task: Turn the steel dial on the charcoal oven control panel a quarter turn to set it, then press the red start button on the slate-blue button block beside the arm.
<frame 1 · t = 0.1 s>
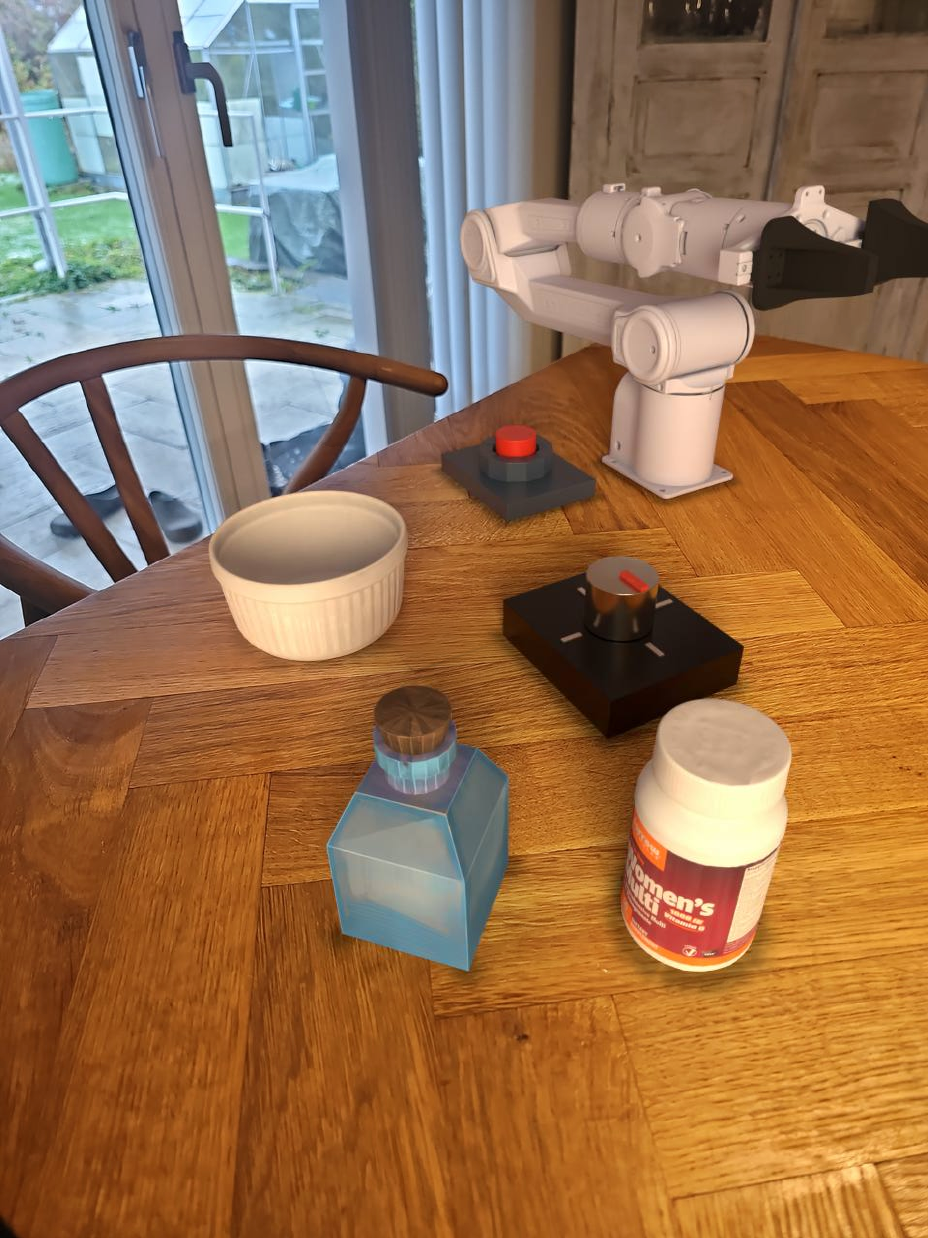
hand: (916, 265, 51), 22 cm above the table, tool horizontal, fingers open, 7 cm apart
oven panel: (614, 658, 56), on the table
dial: (620, 596, 53), point 5 cm above the table, hinge at 0.0°
pill bottle: (685, 919, 40), on the table
start button: (515, 441, 75), point 4 cm above the table, slide at 0.1 cm
ramekin: (321, 619, 61), on the table
button block: (515, 483, 77), on the table
perfume bottle: (428, 900, 41), on the table
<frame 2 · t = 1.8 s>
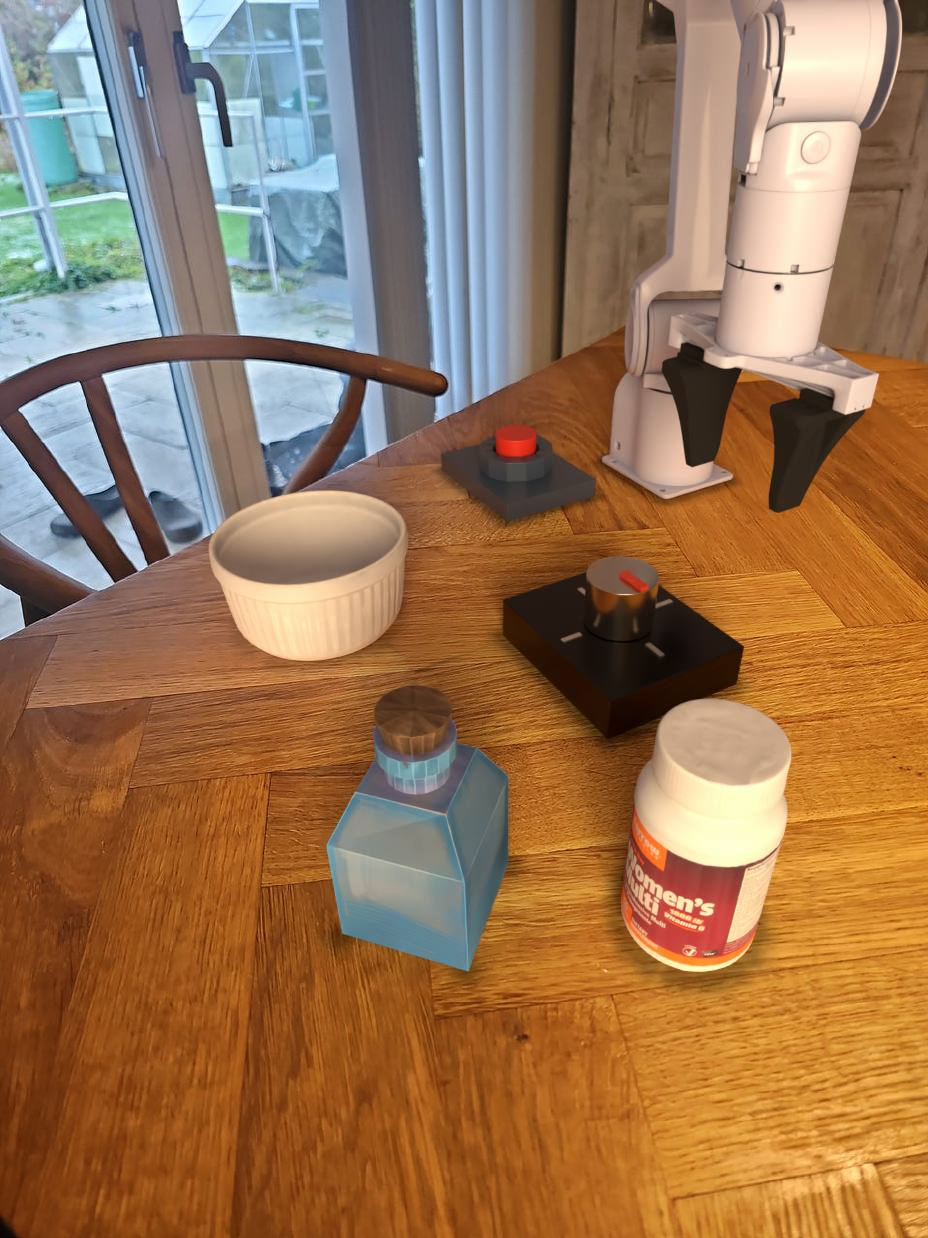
hand: (740, 483, 55), 9 cm above the table, tool pointing down, fingers open, 7 cm apart
nothing on the table moved.
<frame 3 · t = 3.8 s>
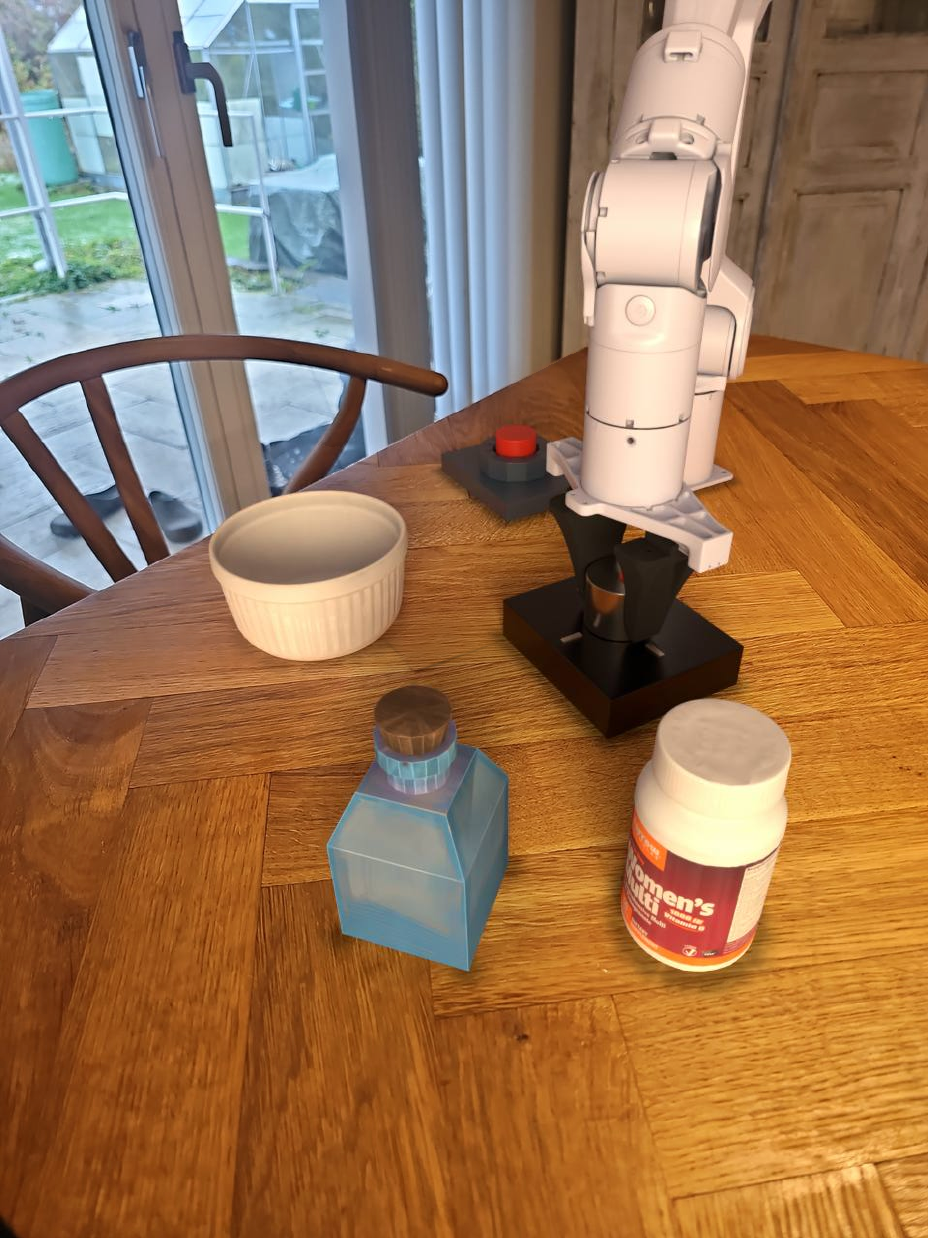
hand: (618, 614, 54), 4 cm above the table, tool pointing down, fingers closed on dial, 4 cm apart
dial: (620, 596, 53), point 5 cm above the table, hinge at -0.2°, touching gripper
everything else where it was.
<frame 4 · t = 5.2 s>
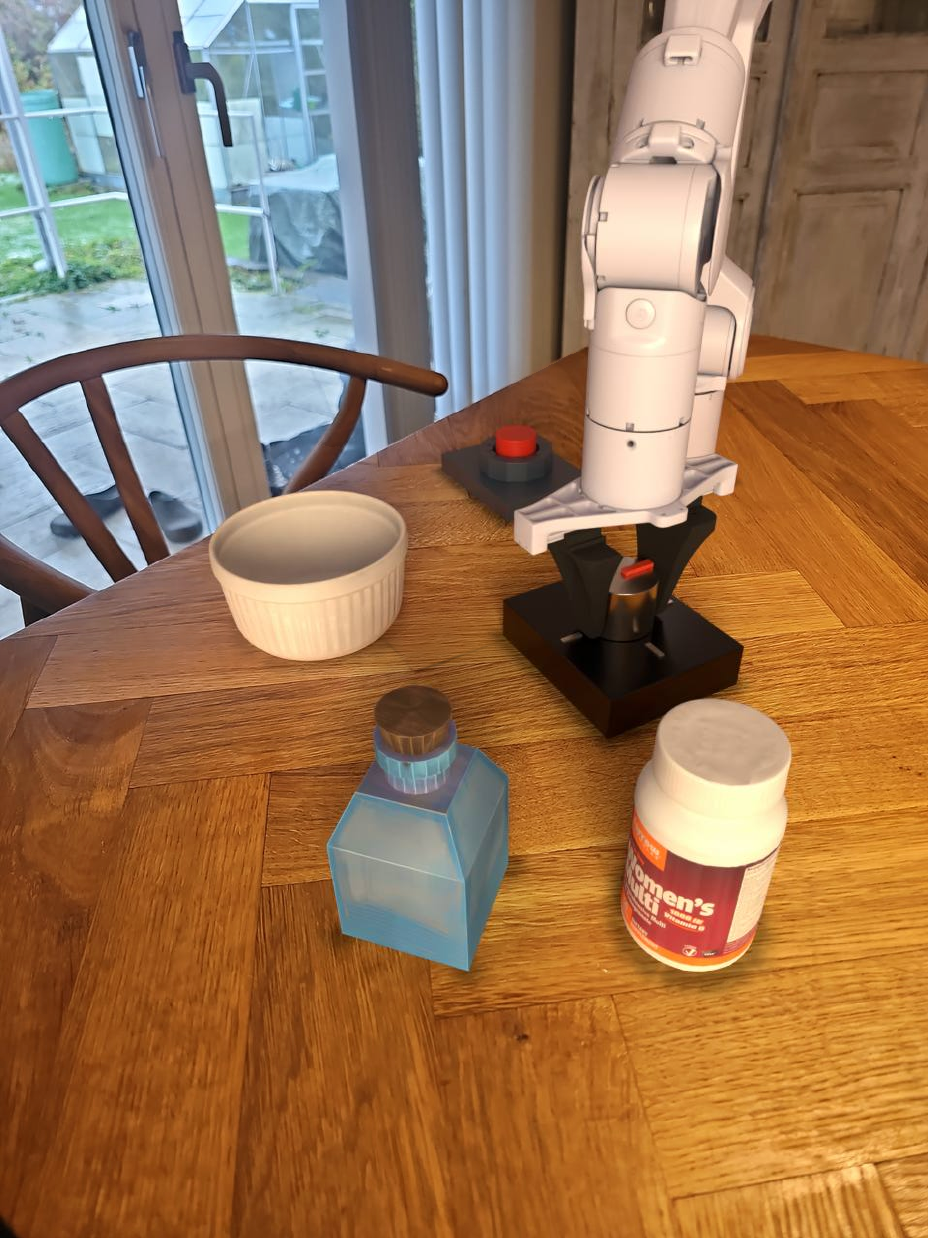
hand: (618, 618, 54), 3 cm above the table, tool pointing down, fingers closed on dial, 4 cm apart
dial: (620, 596, 53), point 5 cm above the table, hinge at 90.2°, touching gripper
everything else where it was.
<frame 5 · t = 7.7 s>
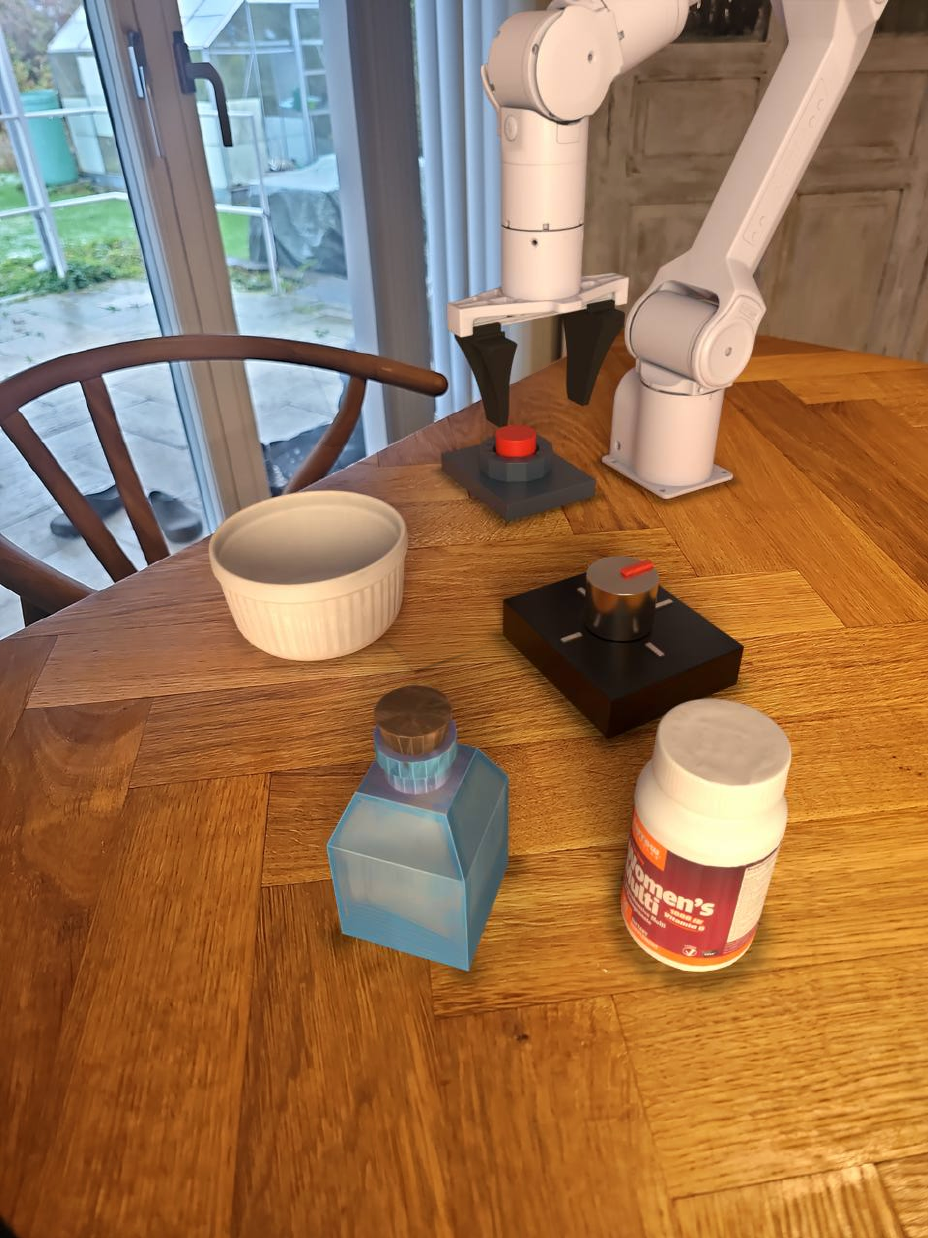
hand: (538, 411, 66), 9 cm above the table, tool pointing down, fingers open, 7 cm apart
dial: (620, 596, 53), point 5 cm above the table, hinge at 90.6°
everything else where it was.
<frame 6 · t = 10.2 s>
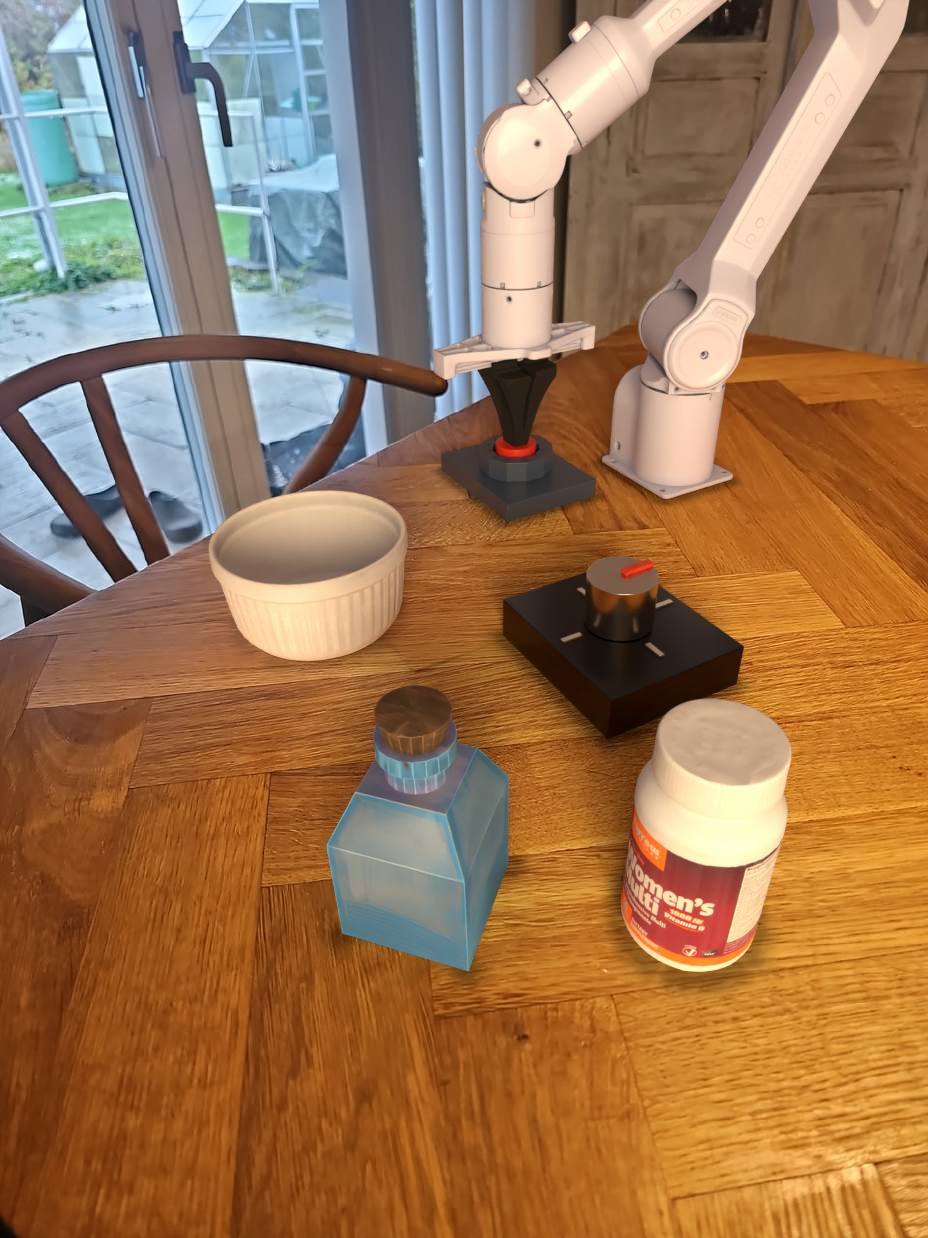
hand: (515, 442, 75), 4 cm above the table, tool pointing down, fingers closed, pressing on start button
start button: (515, 450, 75), point 3 cm above the table, slide at -0.7 cm, touching gripper
everything else where it was.
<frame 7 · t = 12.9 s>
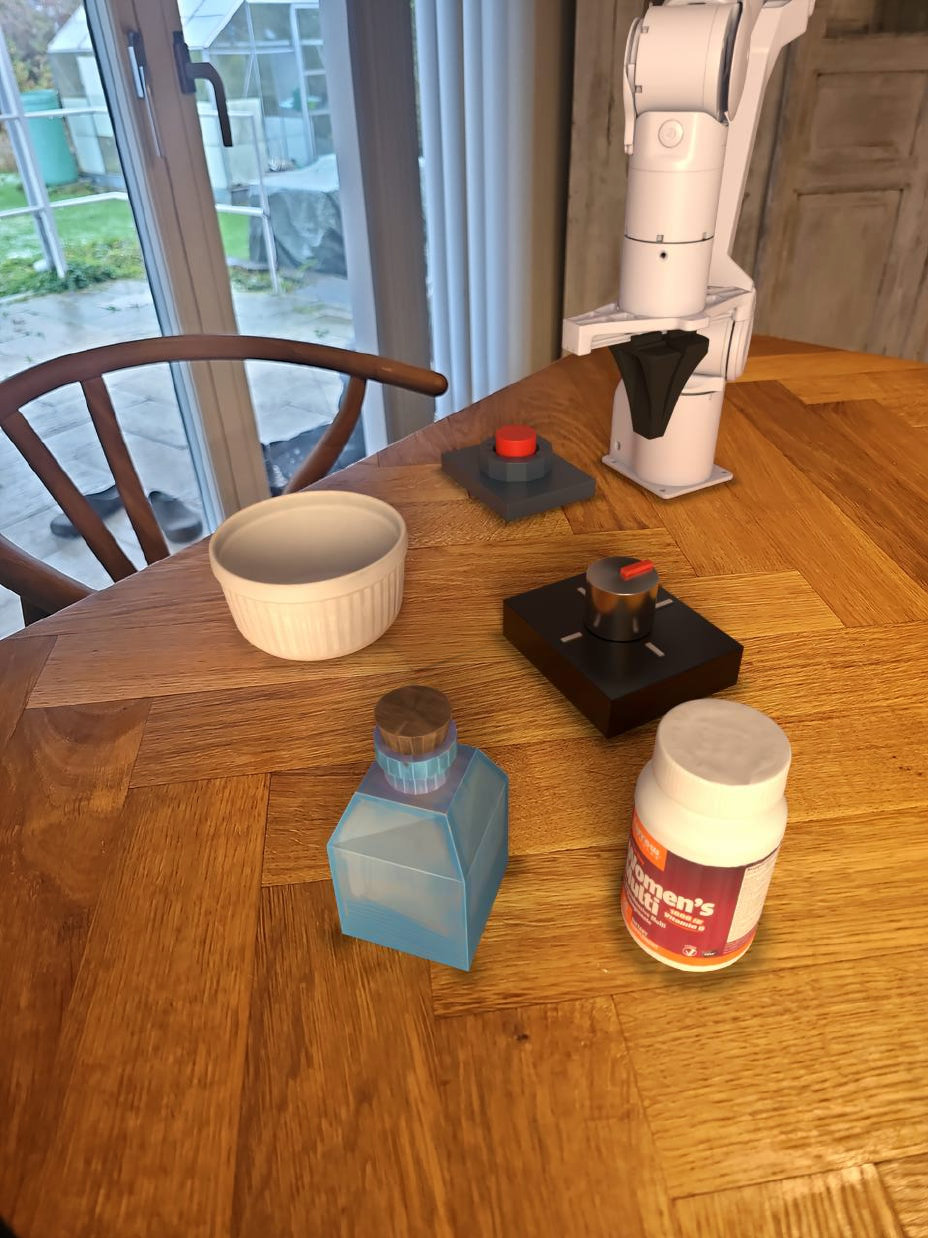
hand: (648, 433, 62), 9 cm above the table, tool pointing down, fingers closed
start button: (515, 441, 75), point 4 cm above the table, slide at 0.1 cm
everything else where it was.
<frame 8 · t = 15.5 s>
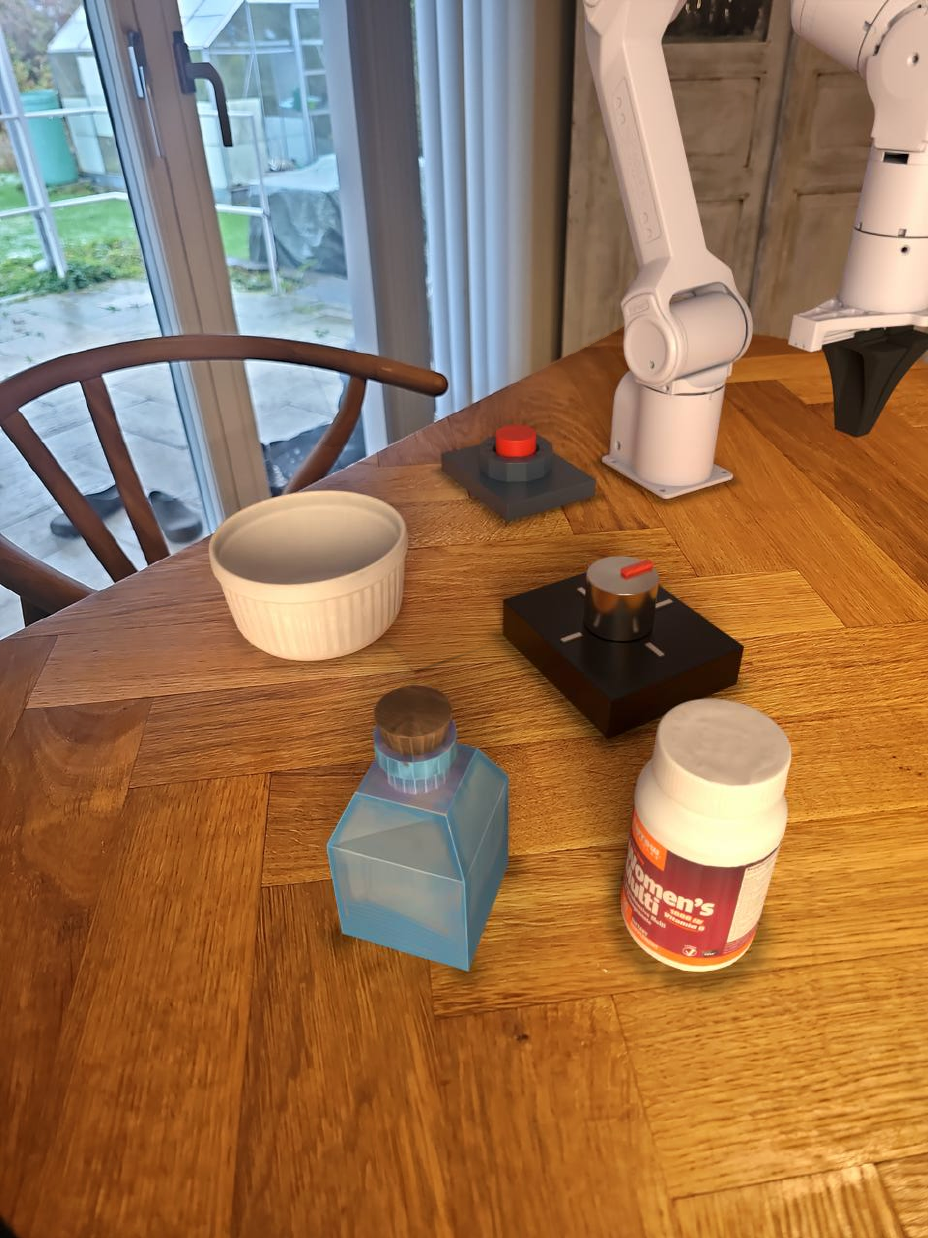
hand: (851, 431, 61), 9 cm above the table, tool pointing down, fingers closed
nothing on the table moved.
at the end: dial at +91° (first picture: +0°); start button pushed in 1.2 cm at the most during the clip, back to where it started at the end; start button slide at 0.1 cm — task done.
